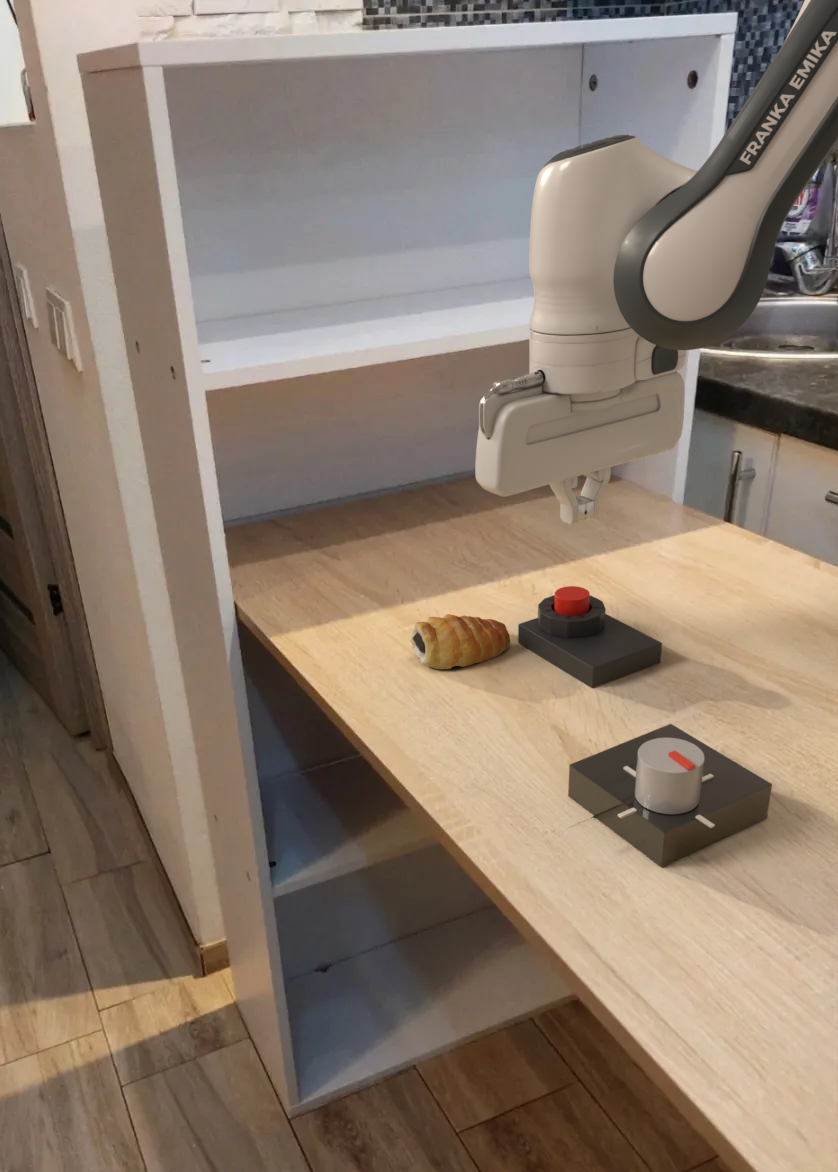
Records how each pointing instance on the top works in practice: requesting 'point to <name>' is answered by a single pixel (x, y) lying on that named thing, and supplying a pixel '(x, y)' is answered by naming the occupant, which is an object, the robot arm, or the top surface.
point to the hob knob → (669, 775)
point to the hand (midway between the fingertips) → (579, 519)
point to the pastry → (458, 640)
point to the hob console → (666, 838)
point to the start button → (571, 601)
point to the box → (588, 643)
